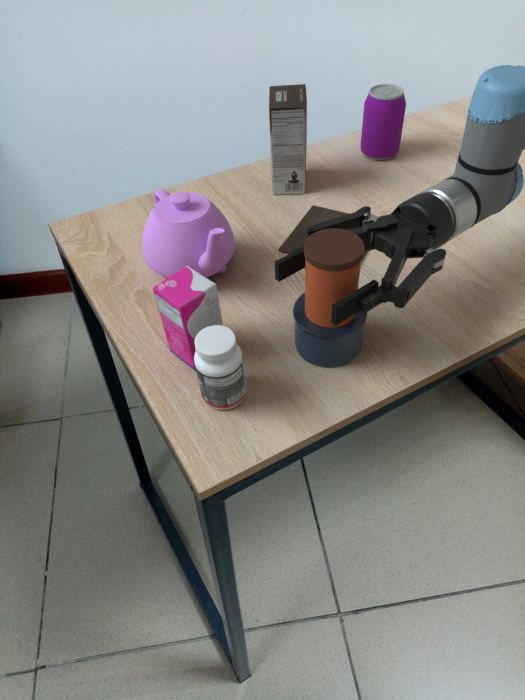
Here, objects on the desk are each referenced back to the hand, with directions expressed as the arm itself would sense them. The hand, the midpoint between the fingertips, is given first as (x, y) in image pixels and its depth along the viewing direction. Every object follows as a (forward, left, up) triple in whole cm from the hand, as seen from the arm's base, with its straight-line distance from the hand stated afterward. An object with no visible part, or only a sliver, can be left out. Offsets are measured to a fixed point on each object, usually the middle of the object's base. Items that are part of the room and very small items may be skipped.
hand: (304, 292), depth 62 cm
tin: (-2, -4, -12) cm, 12 cm away
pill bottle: (+7, +9, -12) cm, 16 cm away
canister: (-2, -4, -6) cm, 7 cm away
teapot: (+23, -10, -12) cm, 28 cm away
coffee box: (+21, -40, -12) cm, 46 cm away
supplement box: (+14, +4, -12) cm, 19 cm away
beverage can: (+9, -57, -12) cm, 58 cm away
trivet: (+7, -27, -12) cm, 30 cm away
